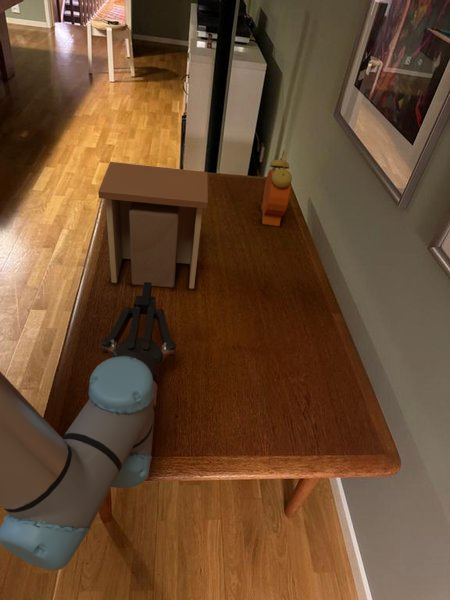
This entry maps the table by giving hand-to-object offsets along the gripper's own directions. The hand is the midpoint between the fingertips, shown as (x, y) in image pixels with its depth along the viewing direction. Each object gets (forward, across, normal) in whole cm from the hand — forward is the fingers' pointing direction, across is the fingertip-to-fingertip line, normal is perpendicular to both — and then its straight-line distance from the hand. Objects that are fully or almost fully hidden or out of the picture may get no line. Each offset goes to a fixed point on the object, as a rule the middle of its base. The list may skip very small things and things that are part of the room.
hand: (147, 287), depth 82 cm
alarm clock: (+47, +34, -9) cm, 59 cm away
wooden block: (+15, 0, -9) cm, 17 cm away
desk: (+15, 0, -9) cm, 17 cm away
